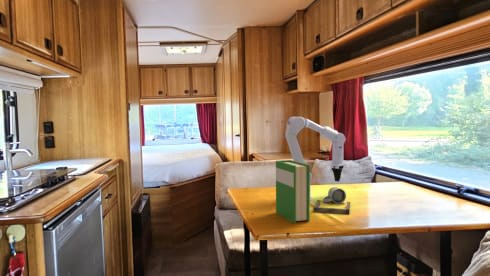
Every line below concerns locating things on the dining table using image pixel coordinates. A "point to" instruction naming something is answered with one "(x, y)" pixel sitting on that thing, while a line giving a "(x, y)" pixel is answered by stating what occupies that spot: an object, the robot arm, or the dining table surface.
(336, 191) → the ceramic mug
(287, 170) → the hardback book
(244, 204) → the dining table surface
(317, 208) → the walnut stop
